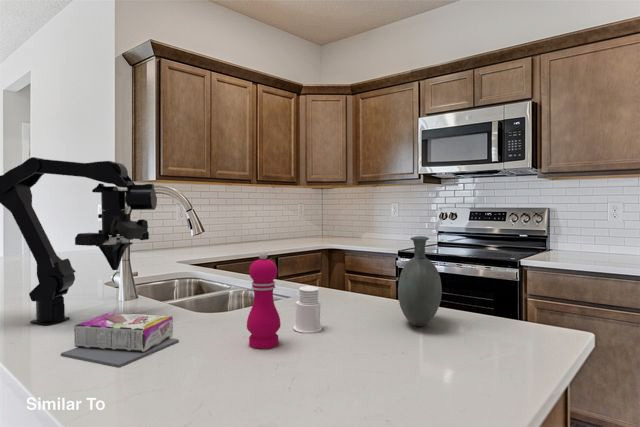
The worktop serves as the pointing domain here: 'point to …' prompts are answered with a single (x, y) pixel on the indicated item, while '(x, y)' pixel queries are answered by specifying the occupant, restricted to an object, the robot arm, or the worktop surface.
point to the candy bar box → (124, 331)
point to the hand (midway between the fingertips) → (114, 269)
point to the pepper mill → (263, 305)
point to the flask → (419, 286)
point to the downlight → (308, 311)
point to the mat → (114, 354)
